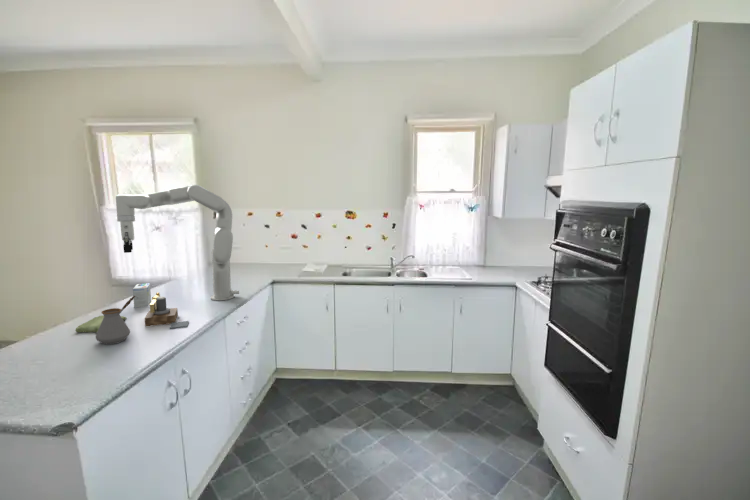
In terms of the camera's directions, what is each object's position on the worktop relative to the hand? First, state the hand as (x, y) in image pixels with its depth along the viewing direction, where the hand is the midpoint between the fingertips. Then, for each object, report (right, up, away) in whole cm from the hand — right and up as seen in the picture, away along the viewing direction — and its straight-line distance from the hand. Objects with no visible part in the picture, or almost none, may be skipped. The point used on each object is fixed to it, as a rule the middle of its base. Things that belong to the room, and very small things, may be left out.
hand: (128, 251), depth 183 cm
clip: (+22, -27, -13) cm, 38 cm away
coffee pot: (+22, -36, -34) cm, 55 cm away
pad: (+39, -35, -21) cm, 56 cm away
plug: (+27, -34, -16) cm, 46 cm away
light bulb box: (+2, -30, +8) cm, 31 cm away
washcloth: (+5, -35, -24) cm, 42 cm away
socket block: (+27, -33, -15) cm, 45 cm away
